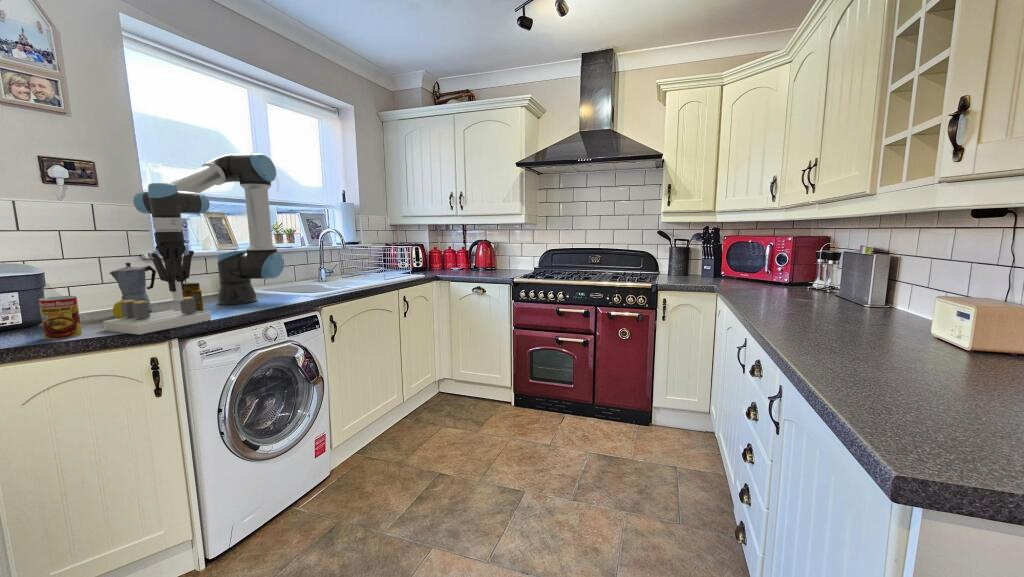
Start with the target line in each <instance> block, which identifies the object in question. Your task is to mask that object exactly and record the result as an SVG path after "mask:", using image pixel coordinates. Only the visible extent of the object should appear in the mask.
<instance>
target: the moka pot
mask: <svg viewBox="0 0 1024 577" xmlns="http://www.w3.org/2000/svg"><path fill="white" fill-rule="evenodd" d="M131 263H132V262H125V263H124V264H125V266H126V267H123V268H122V267H121V268H118V269H115V270H111V271H110V272H108V274H109V275H111V276H112V277H113V279H114V280H115V281H116V282H117V285H118V288H119V290H120V292H121V300H124V301H125V300H135V301H146V302H148V305H149V312H151V311H153V310H154V309H153V307H152V306H153V305H152V304H151V301H150V298H149V295H148V293H147V290H151V289H154V285H155V278H156V273H157V270H156V269H155V268H153V267H152V266H150V265H146V266H141V267H137V266H131V265H132V264H131ZM148 271H151V277H150V278H151V279H150V284H149V286H147V284H146V281H147V280H146V272H148Z"/></svg>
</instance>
